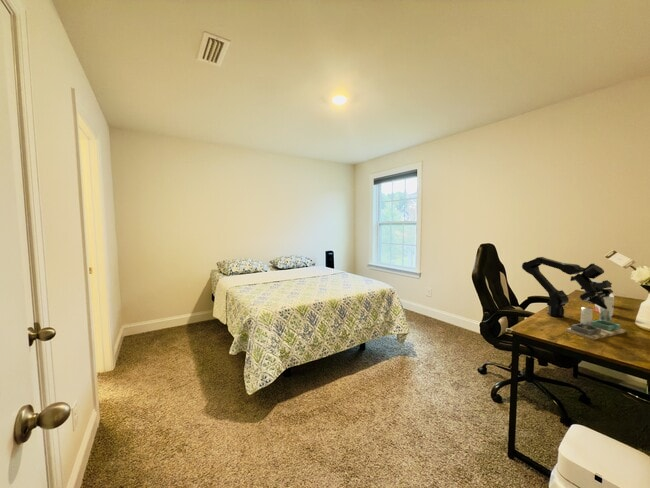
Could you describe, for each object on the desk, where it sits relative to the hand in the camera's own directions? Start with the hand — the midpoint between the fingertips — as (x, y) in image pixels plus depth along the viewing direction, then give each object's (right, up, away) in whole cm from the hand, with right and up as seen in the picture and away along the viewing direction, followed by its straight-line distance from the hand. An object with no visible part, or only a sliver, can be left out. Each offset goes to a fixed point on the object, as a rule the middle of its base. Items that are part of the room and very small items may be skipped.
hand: (609, 308), depth 149 cm
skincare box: (+41, -8, +51) cm, 66 cm away
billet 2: (0, -6, +2) cm, 7 cm away
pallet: (-8, -12, 0) cm, 15 cm away
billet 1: (-15, -11, -3) cm, 19 cm away
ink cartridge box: (+25, -10, +28) cm, 39 cm away
